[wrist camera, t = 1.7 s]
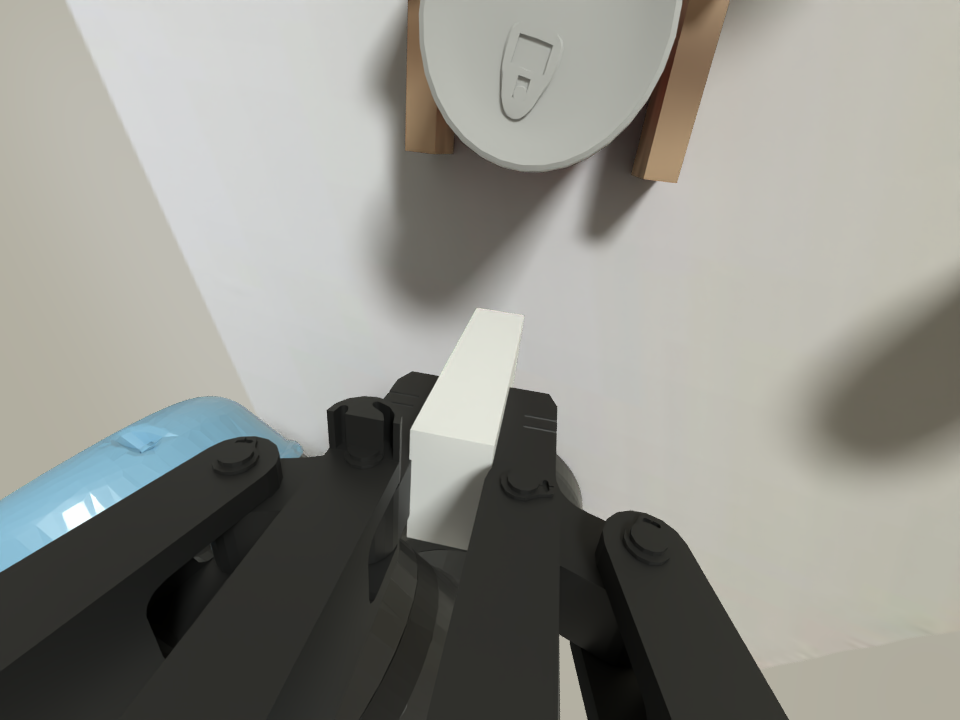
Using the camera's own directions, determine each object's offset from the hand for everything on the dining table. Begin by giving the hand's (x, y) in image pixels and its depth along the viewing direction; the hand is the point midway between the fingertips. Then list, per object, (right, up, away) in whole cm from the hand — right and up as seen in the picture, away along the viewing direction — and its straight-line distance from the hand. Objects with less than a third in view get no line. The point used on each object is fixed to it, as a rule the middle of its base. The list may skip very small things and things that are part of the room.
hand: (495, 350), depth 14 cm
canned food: (+3, +14, +9) cm, 17 cm away
